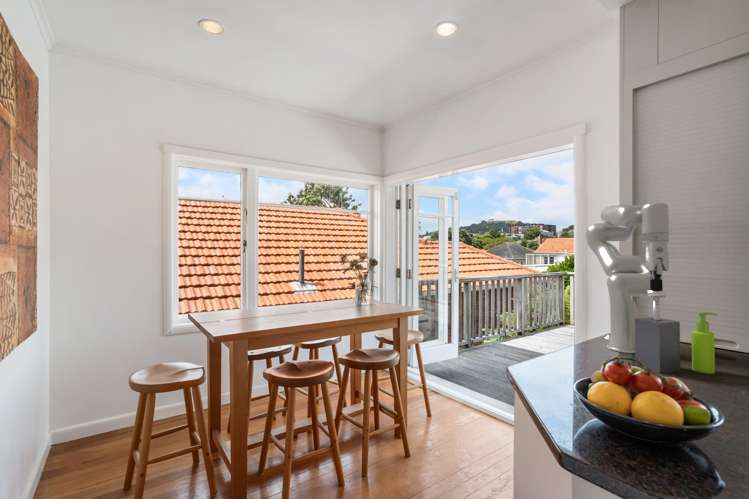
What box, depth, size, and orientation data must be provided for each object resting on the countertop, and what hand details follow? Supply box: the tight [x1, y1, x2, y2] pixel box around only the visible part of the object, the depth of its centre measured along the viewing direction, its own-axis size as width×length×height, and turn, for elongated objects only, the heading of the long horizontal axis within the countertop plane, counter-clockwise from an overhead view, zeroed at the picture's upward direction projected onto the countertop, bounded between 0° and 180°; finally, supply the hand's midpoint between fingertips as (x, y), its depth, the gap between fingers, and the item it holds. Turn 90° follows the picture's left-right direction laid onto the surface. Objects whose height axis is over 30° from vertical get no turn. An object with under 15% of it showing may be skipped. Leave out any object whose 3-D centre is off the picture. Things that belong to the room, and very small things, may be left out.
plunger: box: [646, 290, 667, 321], centre depth 132 cm, size 6×6×19 cm
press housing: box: [634, 316, 681, 373], centre depth 132 cm, size 9×9×17 cm
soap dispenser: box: [691, 311, 718, 374], centre depth 128 cm, size 6×7×20 cm
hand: (656, 290), depth 131 cm, fingers closed
